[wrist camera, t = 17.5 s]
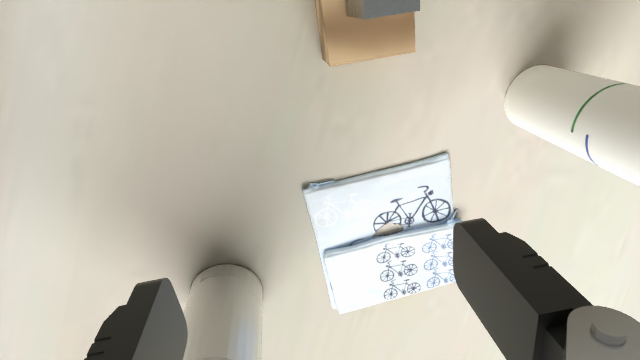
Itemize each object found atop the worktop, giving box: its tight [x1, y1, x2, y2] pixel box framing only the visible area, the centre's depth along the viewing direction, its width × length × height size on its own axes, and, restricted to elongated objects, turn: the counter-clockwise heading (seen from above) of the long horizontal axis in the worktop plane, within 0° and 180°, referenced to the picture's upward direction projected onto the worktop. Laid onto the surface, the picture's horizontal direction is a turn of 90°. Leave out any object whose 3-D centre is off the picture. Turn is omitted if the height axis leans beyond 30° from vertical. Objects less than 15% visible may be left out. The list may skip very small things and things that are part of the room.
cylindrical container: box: [504, 65, 640, 186], centre depth 33 cm, size 7×7×25 cm
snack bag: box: [302, 153, 463, 314], centre depth 49 cm, size 19×20×2 cm
